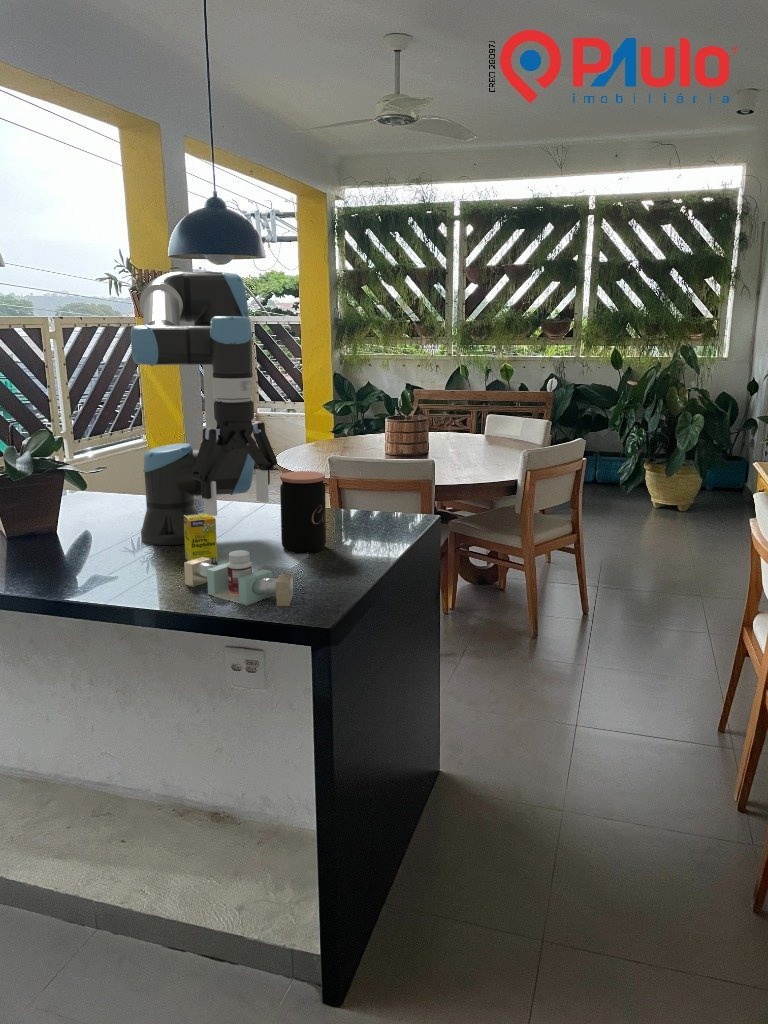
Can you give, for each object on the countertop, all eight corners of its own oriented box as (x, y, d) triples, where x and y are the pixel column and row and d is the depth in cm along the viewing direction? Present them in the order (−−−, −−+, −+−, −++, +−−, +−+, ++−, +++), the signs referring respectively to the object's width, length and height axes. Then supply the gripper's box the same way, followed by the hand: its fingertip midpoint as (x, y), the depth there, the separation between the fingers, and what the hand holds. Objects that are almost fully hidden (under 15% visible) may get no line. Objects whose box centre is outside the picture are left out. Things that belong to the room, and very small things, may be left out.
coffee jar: (318, 555, 178) (317, 480, 174) (275, 552, 180) (273, 478, 176) (331, 543, 189) (330, 472, 184) (289, 540, 191) (288, 470, 186)
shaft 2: (249, 605, 146) (248, 581, 145) (254, 596, 151) (253, 573, 150) (290, 606, 146) (290, 582, 145) (294, 597, 151) (293, 574, 150)
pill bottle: (230, 589, 154) (228, 549, 152) (253, 589, 154) (252, 549, 152) (227, 597, 149) (225, 556, 147) (251, 597, 150) (250, 556, 148)
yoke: (208, 594, 152) (206, 569, 151) (234, 585, 158) (233, 561, 157) (246, 606, 146) (245, 580, 145) (272, 596, 151) (271, 571, 150)
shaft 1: (182, 583, 158) (181, 561, 157) (201, 577, 162) (200, 556, 161) (212, 592, 153) (210, 570, 152) (230, 586, 157) (229, 564, 156)
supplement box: (191, 568, 168) (189, 520, 166) (185, 561, 173) (182, 514, 171) (218, 565, 171) (216, 517, 168) (211, 558, 176) (209, 512, 174)
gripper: (194, 407, 133) (200, 524, 139) (293, 396, 153) (295, 499, 158) (167, 403, 138) (174, 517, 143) (266, 393, 157) (269, 493, 162)
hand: (237, 507), depth 150 cm, fingers open, 13 cm apart
